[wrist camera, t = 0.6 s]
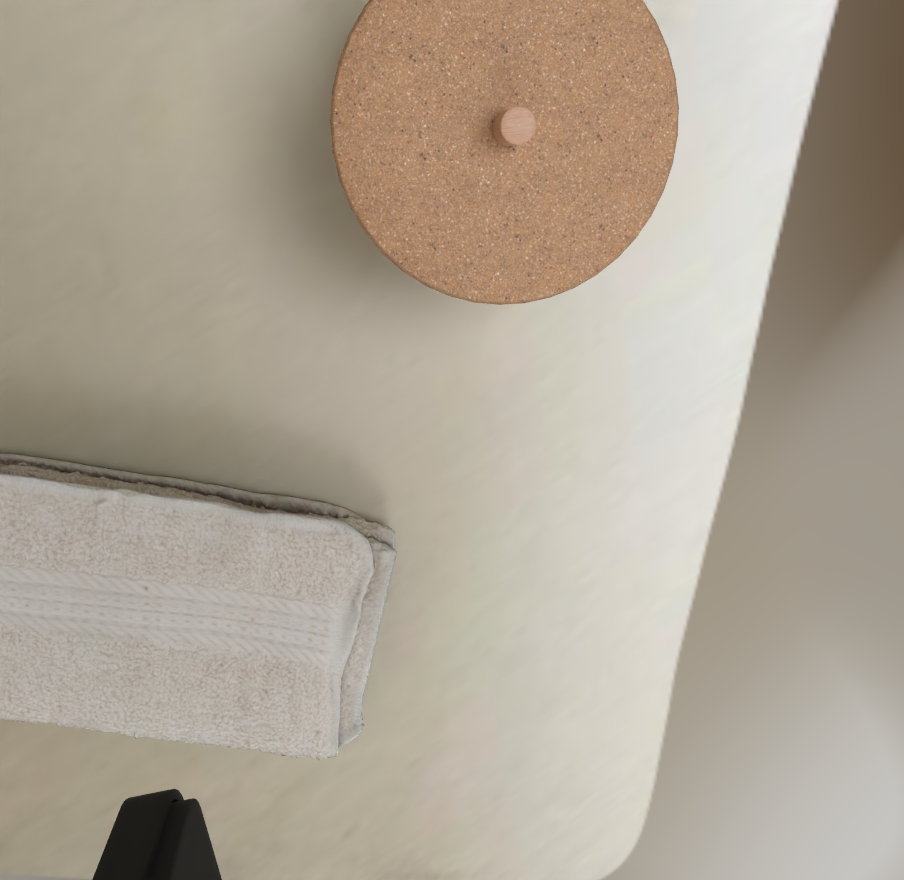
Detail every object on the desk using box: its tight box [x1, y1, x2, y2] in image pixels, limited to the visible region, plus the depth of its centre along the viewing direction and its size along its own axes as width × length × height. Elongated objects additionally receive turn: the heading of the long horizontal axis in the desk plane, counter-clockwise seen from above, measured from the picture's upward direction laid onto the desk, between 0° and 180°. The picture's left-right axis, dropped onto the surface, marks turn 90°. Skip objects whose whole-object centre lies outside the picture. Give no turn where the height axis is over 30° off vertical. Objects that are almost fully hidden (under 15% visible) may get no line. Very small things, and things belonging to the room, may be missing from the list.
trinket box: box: [330, 0, 679, 305], centre depth 29 cm, size 11×11×9 cm
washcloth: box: [0, 453, 396, 760], centre depth 36 cm, size 12×18×3 cm, turn 79°
